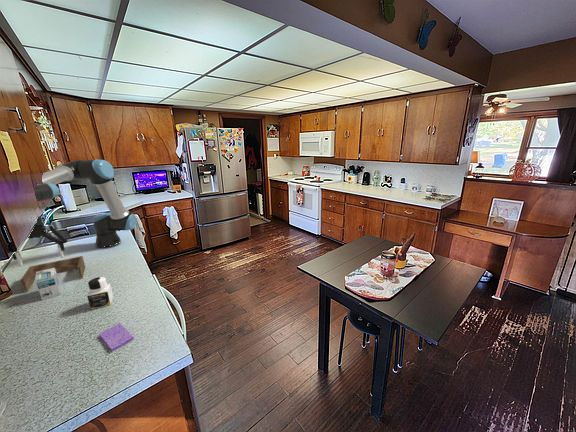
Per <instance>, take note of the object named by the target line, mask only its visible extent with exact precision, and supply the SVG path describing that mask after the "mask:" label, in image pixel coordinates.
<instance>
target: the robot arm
mask: <svg viewBox="0 0 576 432" xmlns="http://www.w3.org/2000/svg"><path fill="white" fill-rule="evenodd" d="M114 175H115V170H114V167H113V166H112V164H111V163H110V162H109V161H107V160H104V159H76V160H71V161H69V162H66V163H65V162H64V163H62V164H59V165H57V166H55V168H53V169H52V170H48V171H45V172H43V175H42V182H43V184H37V185H36V187H35V196H36V199H37V201H38V202H42V201H48V200H52V199H56V198H57V197H58V196H59V195H60V189H59V187H58V186H57V185H58V184H61V183H63V182H71V181H73V180H89V181H90V183H91V184H92V185H94V186H96V188H97V190H98V192H99V193H100V195H101V197H102V199H103V200H104V203H105V205H106V206H107V207H106V208H108V210H109V212H103V213H100V214H96V215H94V216H92V223H93V226H94V231H95V235H96V238H95V242H94V244H95V247H96V246H97V247H96V248H98V247H104V246H110V245H114V244H116V243H119V242H120V241H121V242H122V240H121V237H120V236H119V234H118V233H117V231H132V230H134V228H136V225H137V217H136V215H135V214H133V213H130V210H128V209H126V208H125V206H124V204H123V201H122V200H121V197H120V196H119V194H118V192H117V190H116V187H115V186H114V182H112V180H113V177H115V176H114ZM37 217H38V219H37V220H38V221H37V223H36V224H35V227H34V229H33V231H32V232H31V234H30V236H29V237H28V238H27V239H30V240H31V239H33V238H40V237H42V238H46V239H47V240H49V241H51V242H54V244H57V245H56V247H57V249H58V250H57V251H58V253H59V257H60V259H63V258H64V257H65V255H64V251H65V249H66V248H65V245H64V244H66V243H68V238H66V237H65V236H64V235H63V234H62V233H61V232H60V231H59V230H57V229H56V227H55V226H54V224H50V225H47V226H45V225H44V223H43V219H42V216H41V212H40V210H39V206H38V205H37ZM46 230H48V231H50V232H51V233H53V235H54V236H53V235H51V234H49V233H48V232H47V231H46ZM55 236H56V237H55ZM119 244H120V243H119ZM11 256H12V259H13V260H14V261H15V260H17V264H18V267H23V266H24V260H23V258H22V255H21V252H20V251H19V250H16V253H14V254H13V255H12V254H11Z"/></svg>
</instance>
